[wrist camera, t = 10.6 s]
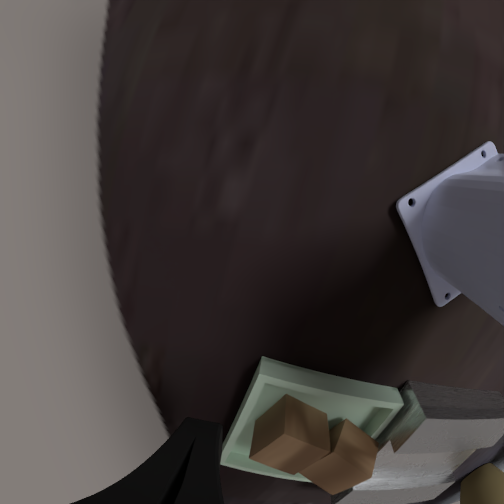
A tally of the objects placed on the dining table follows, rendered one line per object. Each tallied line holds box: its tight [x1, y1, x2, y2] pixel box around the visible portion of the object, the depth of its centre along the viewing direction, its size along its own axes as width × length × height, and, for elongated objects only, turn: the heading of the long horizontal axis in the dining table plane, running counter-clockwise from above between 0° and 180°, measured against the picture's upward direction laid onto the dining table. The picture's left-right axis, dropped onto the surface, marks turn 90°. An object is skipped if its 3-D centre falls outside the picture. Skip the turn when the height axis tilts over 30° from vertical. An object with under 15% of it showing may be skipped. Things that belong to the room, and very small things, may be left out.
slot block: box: [331, 380, 504, 504], centre depth 17 cm, size 14×14×4 cm
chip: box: [298, 418, 379, 495], centre depth 17 cm, size 4×4×4 cm
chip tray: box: [220, 356, 404, 482], centre depth 19 cm, size 11×12×2 cm
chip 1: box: [249, 394, 331, 475], centre depth 17 cm, size 4×4×4 cm
